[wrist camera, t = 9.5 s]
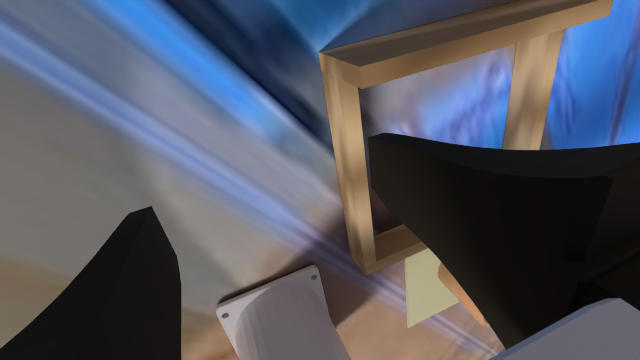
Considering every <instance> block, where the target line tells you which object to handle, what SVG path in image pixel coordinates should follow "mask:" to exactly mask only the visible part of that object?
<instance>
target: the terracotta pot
mask: <svg viewBox="0 0 640 360" xmlns="http://www.w3.org/2000/svg"><path fill="white" fill-rule="evenodd" d="M438 278H439V280H440V281H441V282H442V283H443V284H444V285H445V286H446V287H447V288H448V289H449V290H450V292H451V293H452V294H453V295H454V296H455V297H456V298H457V299H458V300H459V301H460V302H461V303H462V304H463V305H464V307H465V308H466V309H467V310H468V311H469V312H470V313H471V314H472V315H473V316H474V317H475V318H476V319H477V320H478V322H479V323H480V324H481V325H483V326H485V327H490V325H489V324H488V322H487V321H486V319H485V318H484V317H483V315H482V314H481V313H480V311H479V310H478V308H477V307H476V306H475V304H474V303H473V301H472V300H471V299H470V298H469V296H468V295H467V294H466V292H465V291H464V290H463V289H462V287H461V286H460V285H459V283H458V282H457V281H456V279H455V278H454V277H453V276H452V275H451V273H450V272H449V271H448V270H447V268H446V267H445V266H444V265H443V264H442V262H441V264H440V266H439V268H438Z"/></svg>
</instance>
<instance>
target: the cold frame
mask: <svg viewBox="0 0 640 360" xmlns="http://www.w3.org/2000/svg"><path fill="white" fill-rule="evenodd" d="M612 3H613V0H519V1H515V2H511V3H507V4H504V5H500V6H496V7H492V8H488V9H484V10H480V11H476V12H473V13H469V14H465V15H461V16H457V17H453V18H449V19H446V20H442V21H438V22H434V23H430V24H426V25H422V26H418V27H415V28H411V29H407V30H403V31H399V32H395V33H391V34H388V35H384V36H380V37H376V38H372V39H368V40H364V41H361V42H357V43H353V44H349V45H345V46H341V47H337V48H333V49H330V50H326V51H322V52H318V53H319V59H320V65H321V72H322V78H323V84H324V90H325V97H326V103H327V109H328V115H329V122H330V128H331V134H332V140H333V147H334V153H335V159H336V166H337V172H338V178H339V184H340V191H341V197H342V203H343V209H344V216H345V222H346V228H347V234H348V241H349V247H350V253H351V256H352V258H353V259H354V261H355V262H356V263H357V265H358V266H359V268H360V269H361V270H362V272H363V273H364V275H365V276H367V275H370V274H372V273H374V272H376V271H378V270H381V269H383V268H385V267H387V266H390V265H392V264H394V263H396V262H399V261H401V260H403V259H405V258H407V257H410V256H412V255H414V254H416V253H419V252H421V251H423V250H425V249H428V247H427V246H426V245H425V244H424V243H423V242H422V241H421V240H420V239H419V238H418V237H417V236H416V235H415V234H414V233H413V232H412V231H411V230H410V229H409V228H407V227H406V226H405V225H404V224H402V225H400V226H397V227H395V228H393V229H390V230H388V231H385V232H383V233H381V234H378V235H376V236H373V227H372V217H371V208H370V198H369V189H368V179H367V170H366V160H365V151H364V142H363V132H362V123H361V113H360V104H359V94H358V88H361V89H364V88H367V87H371V86H374V85H377V84H381V83H384V82H388V81H391V80H394V79H398V78H401V77H404V76H408V75H411V74H414V73H418V72H421V71H425V70H428V69H431V68H435V67H438V66H441V65H445V64H448V63H451V62H455V61H458V60H462V59H465V58H468V57H472V56H475V55H478V54H482V53H485V52H489V51H492V50H495V49H499V48H502V47H505V46H509V45H512V44H515V43H517V46H516V54H515V61H514V68H513V75H512V83H511V90H510V97H509V105H508V112H507V119H506V126H505V134H504V141H503V148H502V149H508V150H539V149H540V144H541V139H542V134H543V129H544V124H545V119H546V114H547V109H548V104H549V99H550V94H551V89H552V85H553V80H554V75H555V70H556V65H557V60H558V55H559V50H560V45H561V40H562V35H563V30H564V29H566V28H569V27H573V26H576V25H579V24H583V23H586V22H589V21H593V20H596V19H600V18H603V17H606V16H609V15H610V11H611V7H612Z"/></svg>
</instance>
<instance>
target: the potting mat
mask: <svg viewBox="0 0 640 360" xmlns="http://www.w3.org/2000/svg"><path fill="white" fill-rule="evenodd" d="M404 260H405V283H406V306H407V326H408V328H409V327H411V326H413V325H415V324H417V323H419V322H421V321H423V320H424V319H426V318H428V317H430V316H432V315H434V314H436V313H438V312H440V311H442V310H444V309H446V308H448V307H450V306H452V305H454V304H456V303H458V302H460V301H459V300H458V299H457V298H456V297H455V296H454V295H453V294H452V293H451V292H450V290H449V289H448V288H447V287H446V286H445V285H444V284H443V283H442V282H441V281H440V280H439V278H438V268H439V266H440V264H441V261H440V260H439V259H438V258H437V256H436V255H435V254H434V253H433V252H432V251H431V250H430V249H429V248H428V249H425V250H423V251H421V252H419V253H416V254H414V255H412V256H410V257H407V258H405V259H404Z"/></svg>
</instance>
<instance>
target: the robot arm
mask: <svg viewBox="0 0 640 360" xmlns="http://www.w3.org/2000/svg"><path fill="white" fill-rule="evenodd" d="M368 145H369V158H370V171H371V184H372V188H373V190H374V191H375V192H376V194H377V195H378V196H379V198H380V199H381V200H382V202H383V203H384V204H385V206H386V207H387V208H388V209H389V210H390V211H391V212H392V213H393V214H394V215H395V216H396V217H397V218H398V219H399V220H400V221H401V222H402V223H403V224H404V225H405V226H406V227H407V228H409V229H410V230H411V231H412V232H413V233H414V234H415V235H416V236H417V237H418V238H419V239H420V240H421V241H422V242H423V243H424V244H425V245H426V246H427V247H428V248H429V249H430V250H431V251H432V252H433V253H434V254H435V255H436V256H437V258H438V259H439V260H440V261H441V262H442V264H443V265H444V266H445V267H446V268H447V270H448V271H449V272H450V273H451V275H452V276H453V277H454V278H455V279H456V281H457V282H458V283H459V285H460V286H461V287H462V289H463V290H464V291H465V292H466V294H467V295H468V296H469V298H470V299H471V300H472V301H473V303H474V304H475V306H476V307H477V308H478V310H479V311H480V313H481V314H482V315H483V317H484V318H485V319H486V321H487V322H488V324H489V325H490V326H491V328H492V329H493V331H494V332H495V334H496V335H497V337H498V338H499V339H500V341H501V342H502V344H503V345H504V347H505V348H506V351H504V352H502V353H500V354H498V355H497V356H495V357H493V358H491V359H489V360H640V142H638V143H630V144H621V145H612V146H603V147H593V148H578V149H561V150H508V149H493V148H480V147H471V146H464V145H457V144H450V143H444V142H438V141H433V140H427V139H422V138H417V137H411V136H406V135H400V134H393V133H381V134H378V135H375V136H372V137H369V138H368ZM313 275H314V276H313ZM312 276H313V277H312ZM224 313H226V314H224ZM216 314H217V316H218V318H219V320H220V322H221V324H222V326H223V328H224V330H225V331H226V333H227V335H228V337H229V339H230V341H231V343H232V345H233V347H234V349H235V351H236V353H237V355H238V357H239V360H351V358H350V356H349V354H348V352H347V351H346V349H345V347H344V345H343V343H342V341H341V339H340V337H339V335H338V333H337V331H336V329H335V327H334V325H333V323H332V321H331V319H330V316H329V312H328V308H327V303H326V299H325V295H324V291H323V286H322V282H321V278H320V274H319V270H318V268H317V266H315V265H310V266H308V267H306V268H303V269H301V270H298V271H296V272H294V273H291V274H289V275H287V276H284V277H282V278H279V279H277V280H275V281H272V282H270V283H267V284H265V285H263V286H260V287H258V288H256V289H253V290H251V291H248V292H246V293H244V294H241V295H239V296H237V297H234V298H232V299H229V300H227V301H225V302H222V303H220V304H218V305H217V306H216ZM0 360H181V280H180V272H179V266H178V260H177V256H176V254H175V252H174V250H173V248H172V246H171V244H170V242H169V240H168V238H167V236H166V234H165V232H164V230H163V228H162V226H161V224H160V222H159V220H158V218H157V216H156V214H155V212H154V210H153V208H152V206H150V207H147V208H144V209H141V210H138V211H134V212H131V213H129V214H128V215H127V216H126V217H125V219H124V220H123V221H122V222H121V223H120V225H119V226H118V227H117V228H116V230H115V231H114V232H113V233H112V235H111V236H110V237H109V239H108V240H107V241H106V242H105V243H104V245H103V246H102V247H101V248H100V250H99V251H98V252H97V253H96V255H95V256H94V257H93V258H92V259H91V261H90V262H89V263H88V264H87V265H86V266H85V267H84V269H83V270H82V271H81V272H80V273H79V274H78V275H77V276H76V278H75V279H74V280H73V281H72V282H71V283H70V284H69V285H68V287H67V288H66V289H65V290H64V291H63V292H62V293H61V294H60V295H59V296H58V297H57V298H56V299H55V300H54V301H53V302H52V303H51V304H50V305H49V306H48V307H47V308H46V309H45V310H44V311H43V312H42V313H40V314H39V315H38V316H37V317H36V318H35V319H34V320H33V321H32V322H31V323H30V324H29V325H28V326H27V327H25V328H24V329H23V330H22V331H21V332H20V333H18V334H17V335H16V336H15V337H14V338H12V339H11V340H10V341H9V342H8V343H7V344H5V345H4V346H3V347H2V348H1V349H0Z"/></svg>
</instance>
